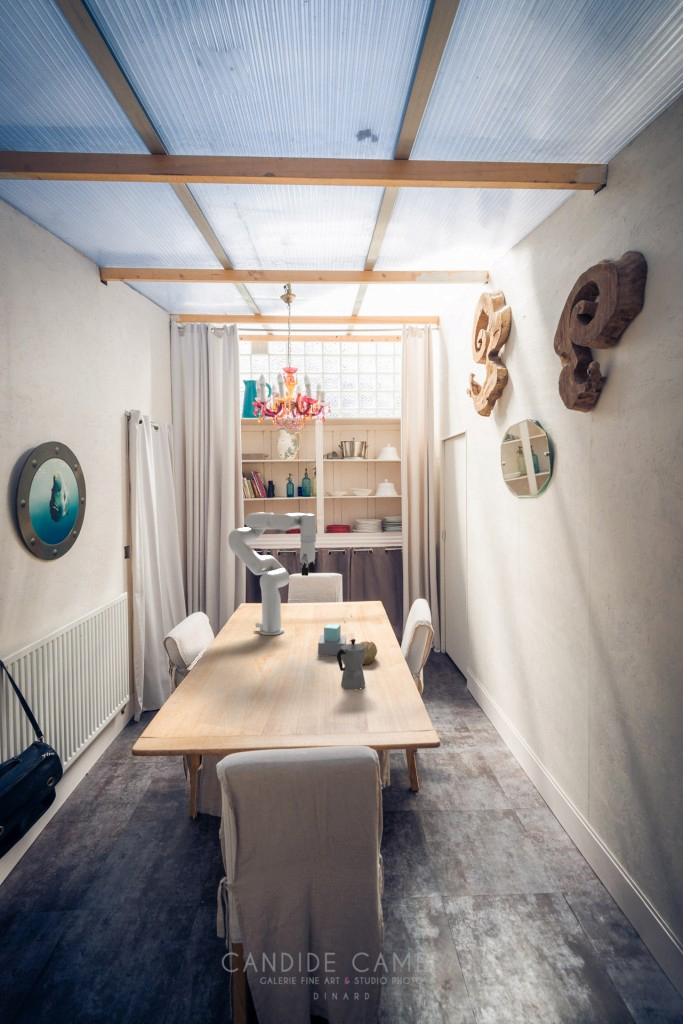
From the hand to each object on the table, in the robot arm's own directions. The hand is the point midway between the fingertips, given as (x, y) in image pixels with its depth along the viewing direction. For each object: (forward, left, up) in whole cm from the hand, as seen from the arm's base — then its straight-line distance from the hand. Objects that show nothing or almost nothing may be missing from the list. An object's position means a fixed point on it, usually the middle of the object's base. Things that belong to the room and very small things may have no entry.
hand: (308, 573), depth 262 cm
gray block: (+17, -16, -33) cm, 40 cm away
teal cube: (+17, -16, -27) cm, 35 cm away
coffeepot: (+36, -53, -32) cm, 72 cm away
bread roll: (+35, -23, -33) cm, 53 cm away
